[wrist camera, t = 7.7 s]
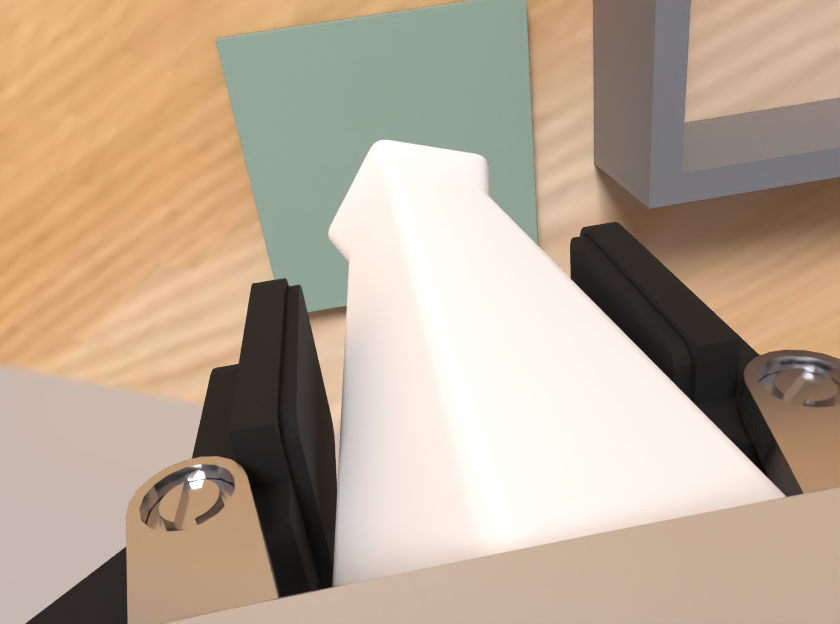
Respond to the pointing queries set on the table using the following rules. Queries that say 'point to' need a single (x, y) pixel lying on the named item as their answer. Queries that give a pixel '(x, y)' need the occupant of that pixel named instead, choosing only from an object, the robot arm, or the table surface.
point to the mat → (375, 117)
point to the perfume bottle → (494, 387)
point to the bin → (693, 141)
